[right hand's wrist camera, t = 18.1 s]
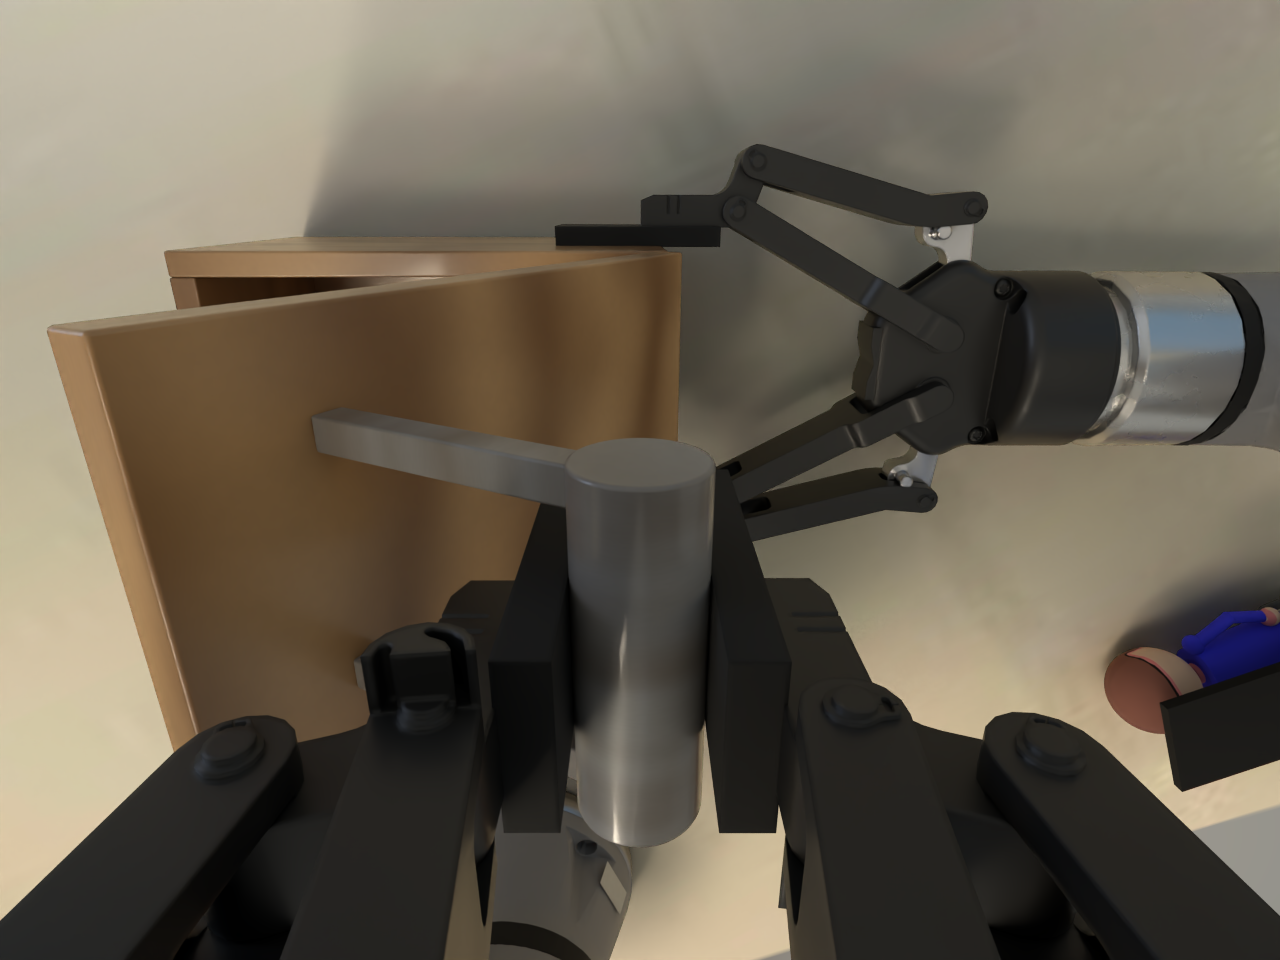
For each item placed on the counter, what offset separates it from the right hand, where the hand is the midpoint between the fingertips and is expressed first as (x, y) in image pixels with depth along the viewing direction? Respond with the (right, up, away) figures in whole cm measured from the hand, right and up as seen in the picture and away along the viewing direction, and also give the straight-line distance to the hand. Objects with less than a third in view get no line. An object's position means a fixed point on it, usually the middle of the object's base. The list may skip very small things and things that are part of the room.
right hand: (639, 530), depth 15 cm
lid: (-4, +2, +4) cm, 6 cm away
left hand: (-3, +6, +16) cm, 18 cm away
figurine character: (+36, -9, +29) cm, 47 cm away
